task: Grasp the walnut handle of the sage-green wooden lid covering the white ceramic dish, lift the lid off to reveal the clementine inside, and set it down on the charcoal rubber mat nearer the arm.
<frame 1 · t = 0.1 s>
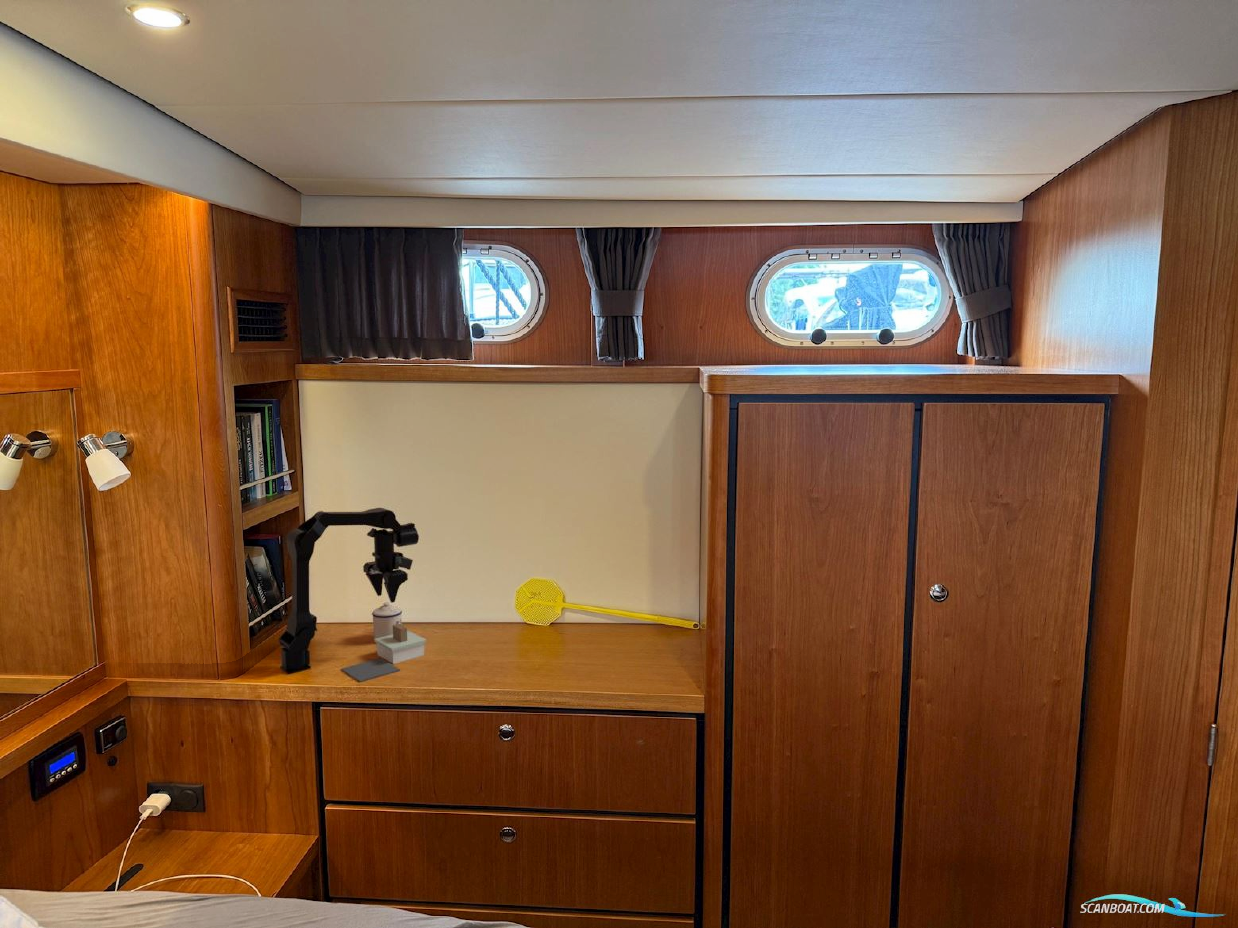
hand: (386, 598, 241), 15 cm above the table, fingers open, 9 cm apart
teacup with lid: (389, 637, 250), on the table
mat: (370, 670, 222), on the table
lid: (400, 641, 234), point 4 cm above the table, touching dish
dish: (400, 654, 234), on the table
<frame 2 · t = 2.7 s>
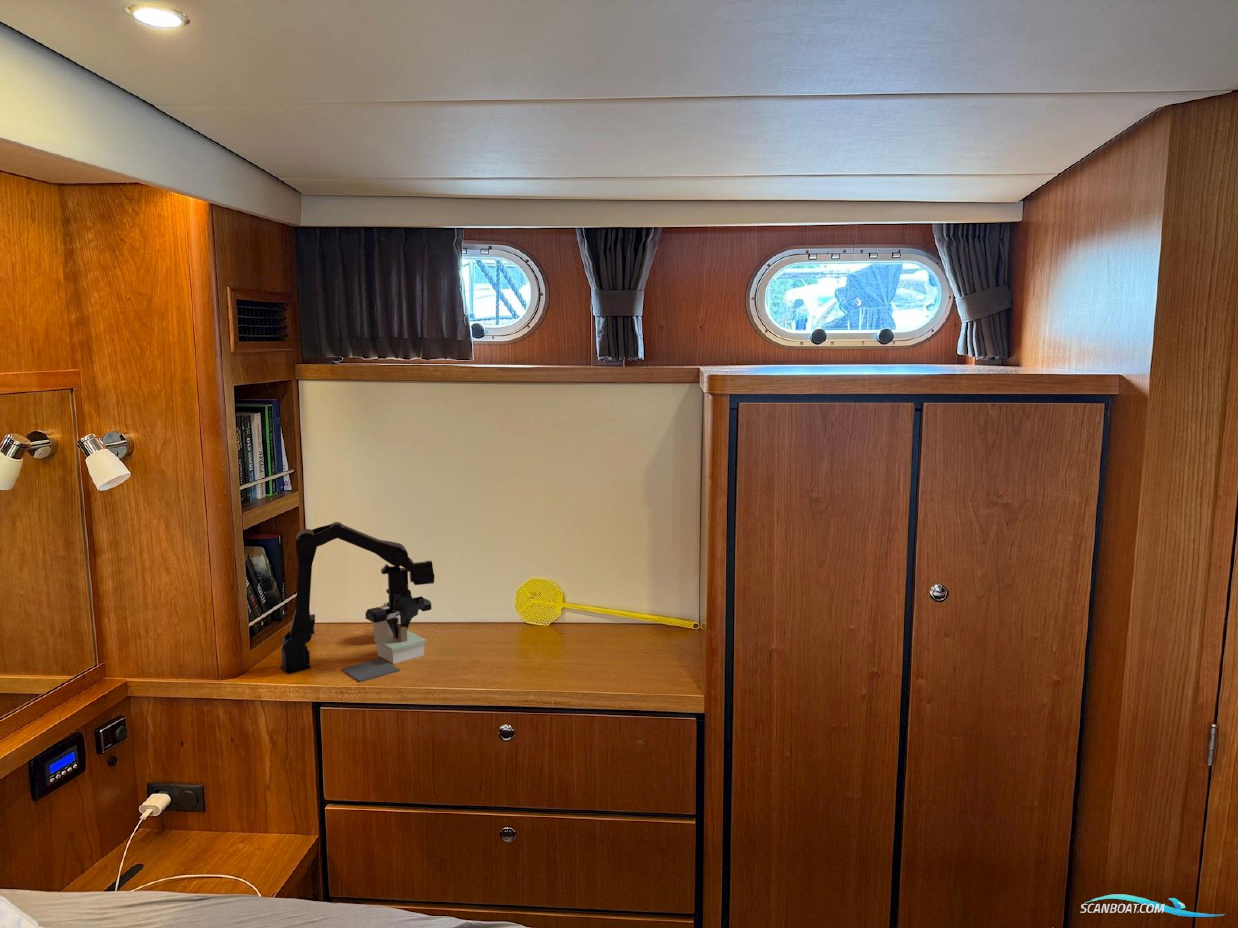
hand: (400, 637, 234), 5 cm above the table, fingers closed on lid
lid: (400, 641, 234), point 4 cm above the table, touching dish, gripper
everything else where it was.
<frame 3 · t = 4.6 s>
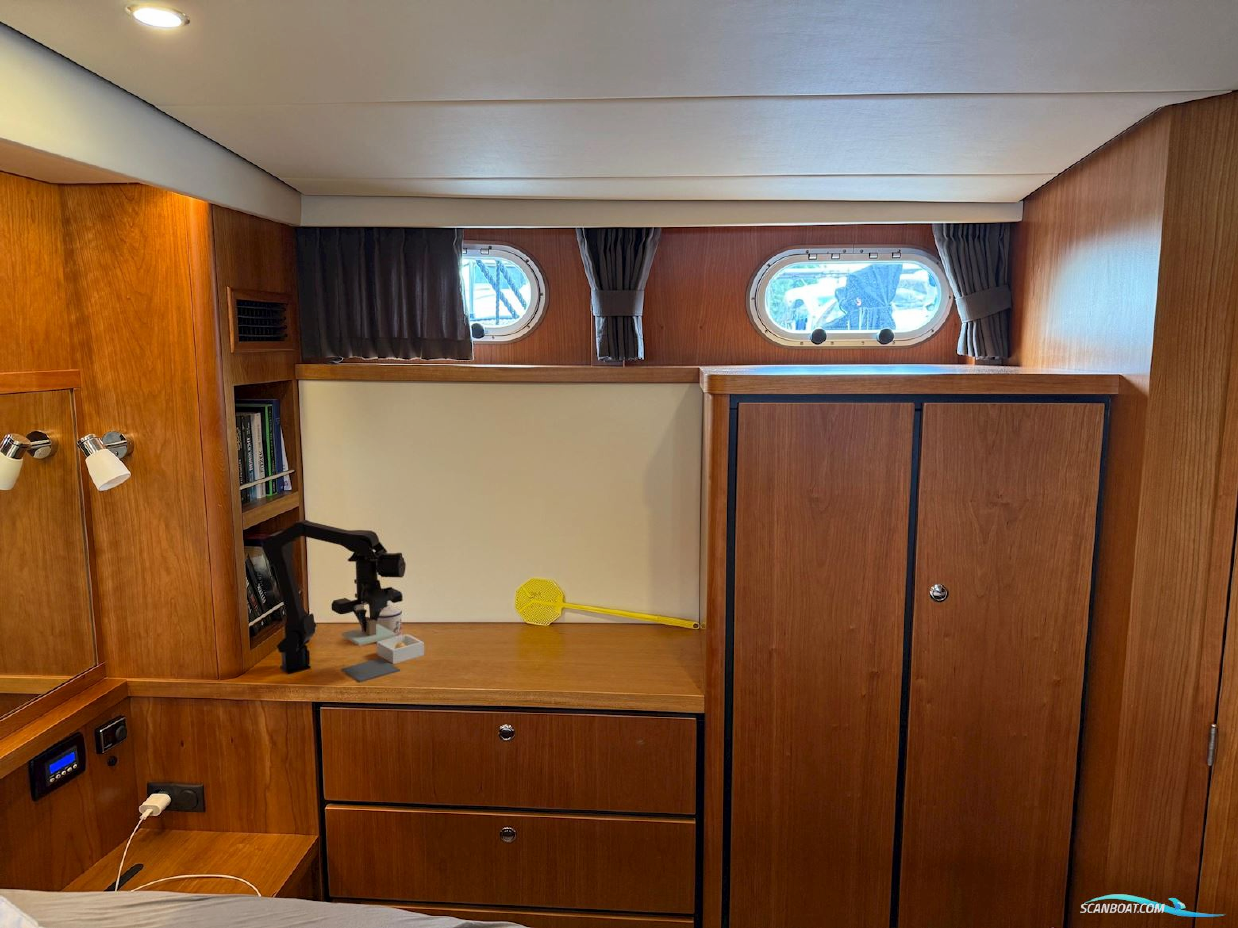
hand: (368, 630, 221), 12 cm above the table, fingers closed on lid
lid: (369, 635, 221), point 10 cm above the table, touching gripper
everything else where it was.
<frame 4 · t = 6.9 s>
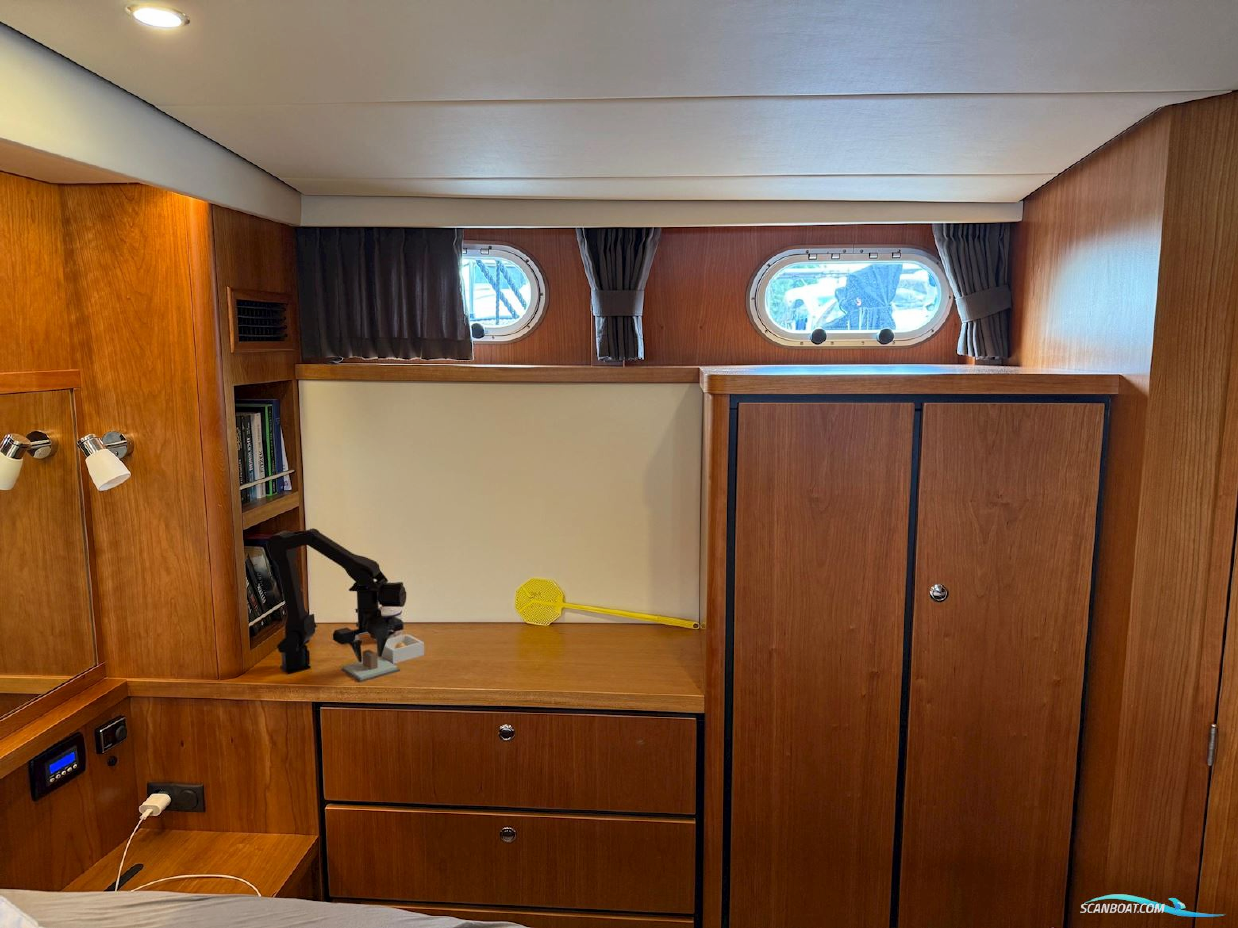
hand: (370, 659, 222), 3 cm above the table, fingers open, 6 cm apart
lid: (370, 668, 222), resting on mat
everything else where it was.
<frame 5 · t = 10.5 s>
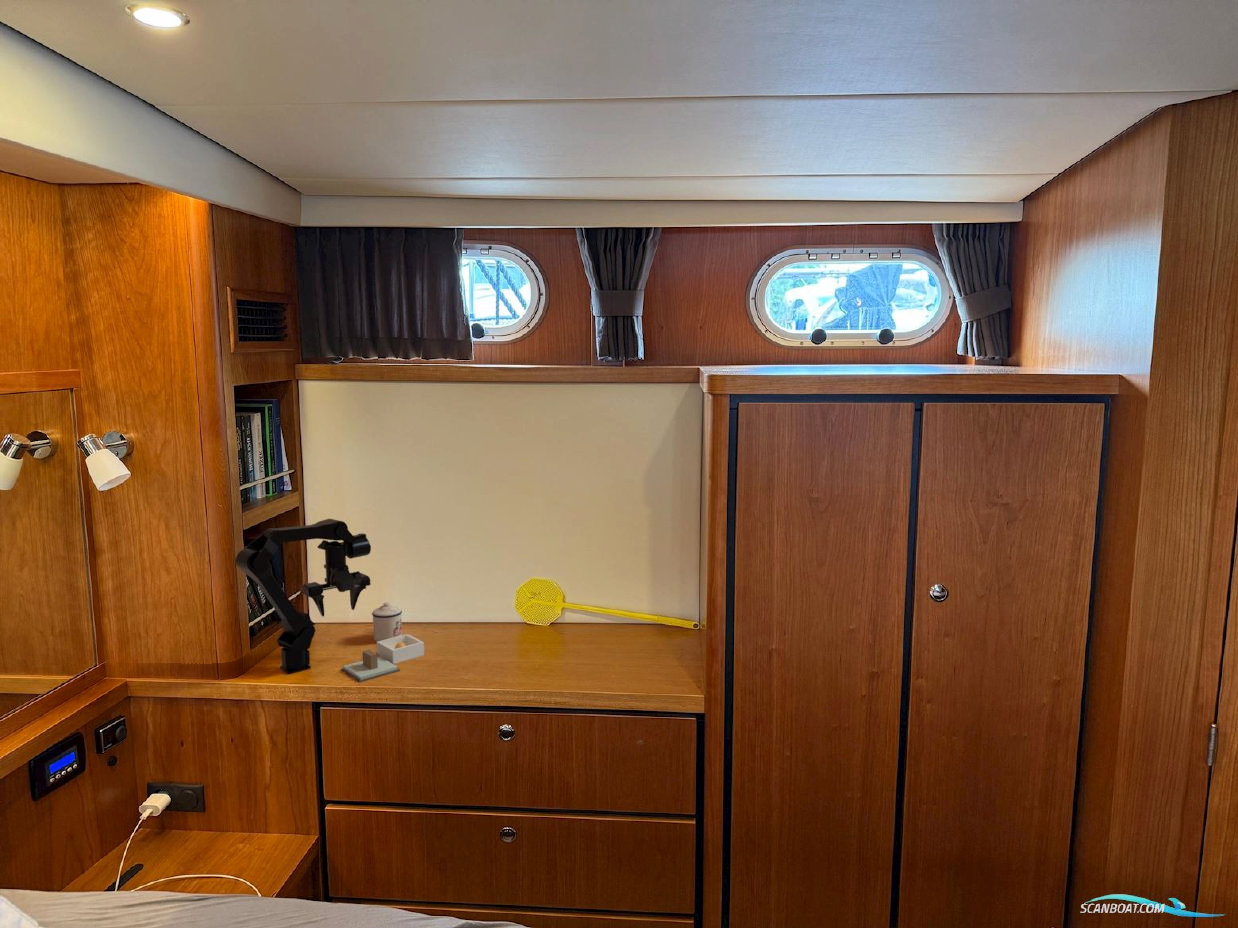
hand: (338, 612, 233), 13 cm above the table, fingers open, 9 cm apart
nothing on the table moved.
at the end: lid inside the target area on the mat (0.0 cm from its centre), point 0.4 cm above the mat's base; lid tilted 0°; lid touching mat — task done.
